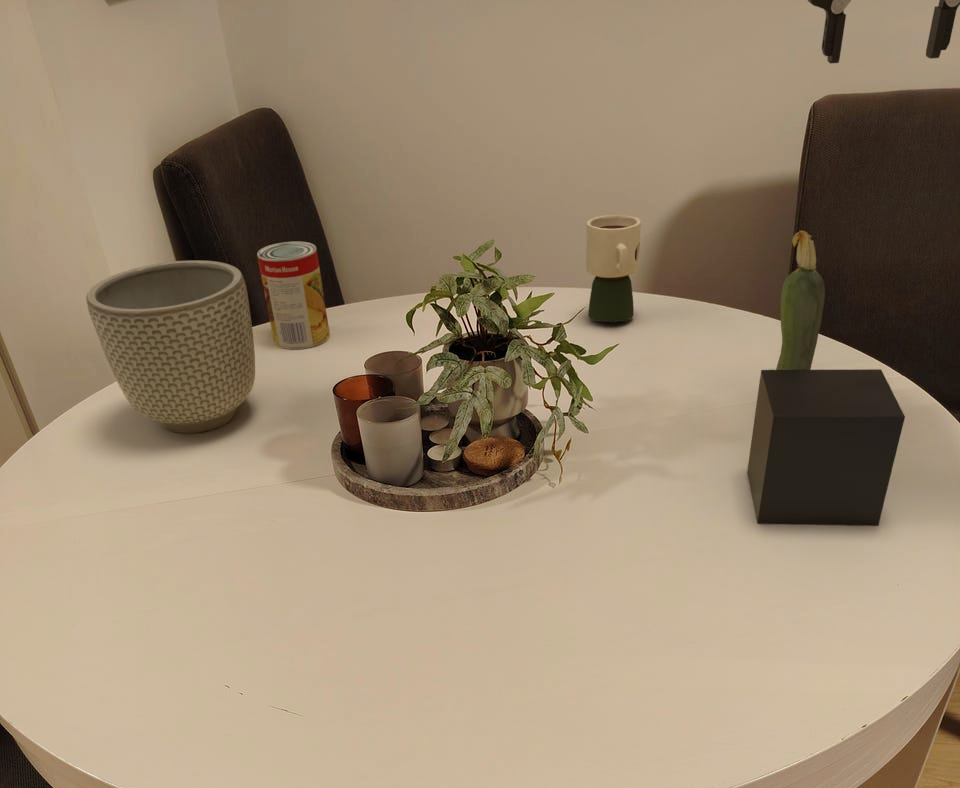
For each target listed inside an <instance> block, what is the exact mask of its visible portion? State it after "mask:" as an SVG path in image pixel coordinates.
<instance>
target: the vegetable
mask: <svg viewBox="0 0 960 788" xmlns="http://www.w3.org/2000/svg"><path fill="white" fill-rule="evenodd" d="M811 238H812V235H810V234H809V233H808V232H807V231H805V230H799V231H798V232H796V233H795V234H794V235H793V237H792V238H791V240H792V245H793V247H794V248H795V247H796V245H797V248H796V263H797V269H795V270H794V271H792V272H791V273H789V274H788V275H787V276H786V278H785V280H784V282H783V284H782V288H781V292H780V329H781V348H780V353H779V358H778V361H777V365H776V369H775V370H812V364H813V360H814V356H815V352H816V347H817V343H818V339H819V334H820V328H821V324H822V319H823V313H824V307H825V299H826V298H825V296H826V291H825V290H826V288H825V282H824V279H823V277H822V276H821V274H820V273H819V272H818V270H816V269H817V265H816V264H817V255H816V247H815V241H814V240H812V239H811Z"/></svg>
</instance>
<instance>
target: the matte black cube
mask: <svg viewBox="0 0 960 788" xmlns="http://www.w3.org/2000/svg"><path fill="white" fill-rule="evenodd" d="M755 405H756V406H755V412H754V420H753V426H752V434H751V442H750V448H749V455H748V464H747V470H746V471H747V472H746V473H747V478H748V483H749V488H750V492H751V497H752V498H751V499H752V502H753V508H754V513H755V517H756V523H757V524H770V525H771V524H777V525H787V524H788V525H833V526H835V525H837V526H838V525H839V526H846V525H847V526H879V524H880V520H881V517H882V513H883V508H884V504H885V501H886V496H887V492H888V488H889V484H890V479H891V476H892V470H893V467H894V463H895V459H896V456H897V452H898V447H899V443H900V439H901V434H902V432H903V427H904V423H905V418H906V416H905V413H904V411H903V410H902V407H901V406H900V403H899V402H898V400H897V398H896V396H895V394H894V392H893V390H892V388H891V386H890V384H889V382H888V380H887V378H886V376H885V374H884V372H883V371H882V369H880V368H879V369H877V368H876V369H873V368H872V369H866V368H865V369H861V368H860V369H856V368H855V369H811V370H776V369H761V370H760V377H759V382H758V391H757V397H756V404H755Z"/></svg>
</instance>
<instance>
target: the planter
mask: <svg viewBox="0 0 960 788" xmlns="http://www.w3.org/2000/svg"><path fill="white" fill-rule="evenodd" d="M85 299H86V305H87V310H88V314H89V317H90V320H91V322H92V325H93V328H94V330H95V332H96V335H97V337H98V340H99V343H100V345H101V347H102V350H103V352H104V355H105V358H106V360H107V362H108V365H109V367H110V369H111V371H112V373H113V376H114V378H115V381H116V382H117V384H118V386H119V388H120V390H121V392H122V394H123V395H124V397H125V399H126V400H127V402H128V403H129V404H130V406H131V407H132V408H133V409H134V410H136V411H137V412H138V413H139V414H141V415H143V416H144V417H146V418H148V419H150V420H153V421H155V422H158V423H160V424H161V425H162V426H164V428H166V429H167V430H169V431H171V432H174V433H179V434H196V433H203V432H208V431H212V430H214V429H218V428H220V427H222V426H224V425H226V424H227V423H229V422H230V421H231V420H232V419H233V418H234V417H235V415H236V412H237V409H238V407H239V406H241V405H242V404H243V403H244V401H245V400H247V398H248V396H249V395H250V394H251V392H252V390H253V387H254V384H255V381H256V380H255V379H256V354H255V352H256V351H255V342H254V331H253V324H252V318H251V317H252V316H251V309H250V302H249V294H248V289H247V284H246V280H245V278H244V275H243V273H242V271H241V270H240V269H239V268H237V267H235V266H233V265H231V264H229V263H225V262H220V261H215V260H200V259H199V260H195V259H194V260H174V261H166V262H159V263H153V264H148V265H142V266H138V267H135V268H132V269H127V270H124V271H122V272H118V273H116V274H113V275H111V276H109V277H106V278H104V279H102V280H100V281H99V282H97V283H96V284H95V285H93V286H92V287H91V288H90V289H89V290H88V292H87V294H86V296H85Z"/></svg>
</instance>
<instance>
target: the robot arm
mask: <svg viewBox="0 0 960 788" xmlns="http://www.w3.org/2000/svg"><path fill="white" fill-rule="evenodd" d="M807 2H808V3H810V4H811V5H812V6H814V7H817V8H820V9H822V10H824V12H825V20H824V26H823V35H822V42H821V51H822V52H821V53H822V54H823V55H824V57H827V59H826V60H827V63H829V64H839V63H840V58H841V52H842V45H843V39H844V32H845V25H846V19H847V14H846V13H845V12H844V11H845V9H846V8H847V7H848V5H849V4H850V3H851V2H852V0H807ZM959 7H960V0H938V6H937V5H936V6H934V9H933V14H932V19H931V24H930V28H929V35H928V38H927V44H926V49H925V56H926V57H927V58H928V59H939V58H940V56H941V53H942V51H946V50H947V49H948V47H949V45H950V43H951V38H952V33H953V29H954V25H955V19H956V15H957V10H958V9H959Z"/></svg>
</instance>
